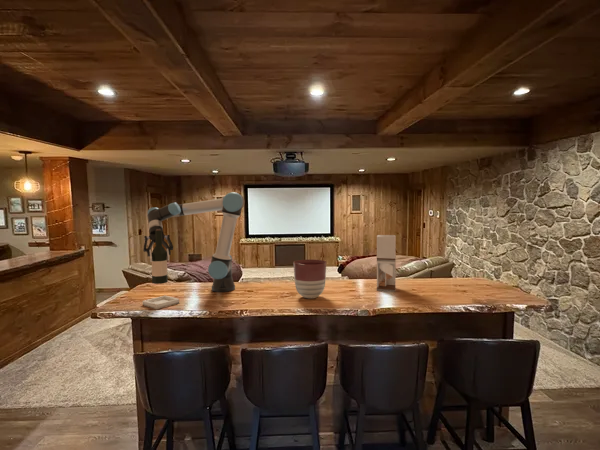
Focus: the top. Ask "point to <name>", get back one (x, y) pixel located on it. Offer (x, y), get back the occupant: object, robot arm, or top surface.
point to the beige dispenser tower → (386, 262)
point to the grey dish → (160, 302)
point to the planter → (310, 277)
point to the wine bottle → (159, 260)
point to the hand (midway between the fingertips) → (160, 259)
